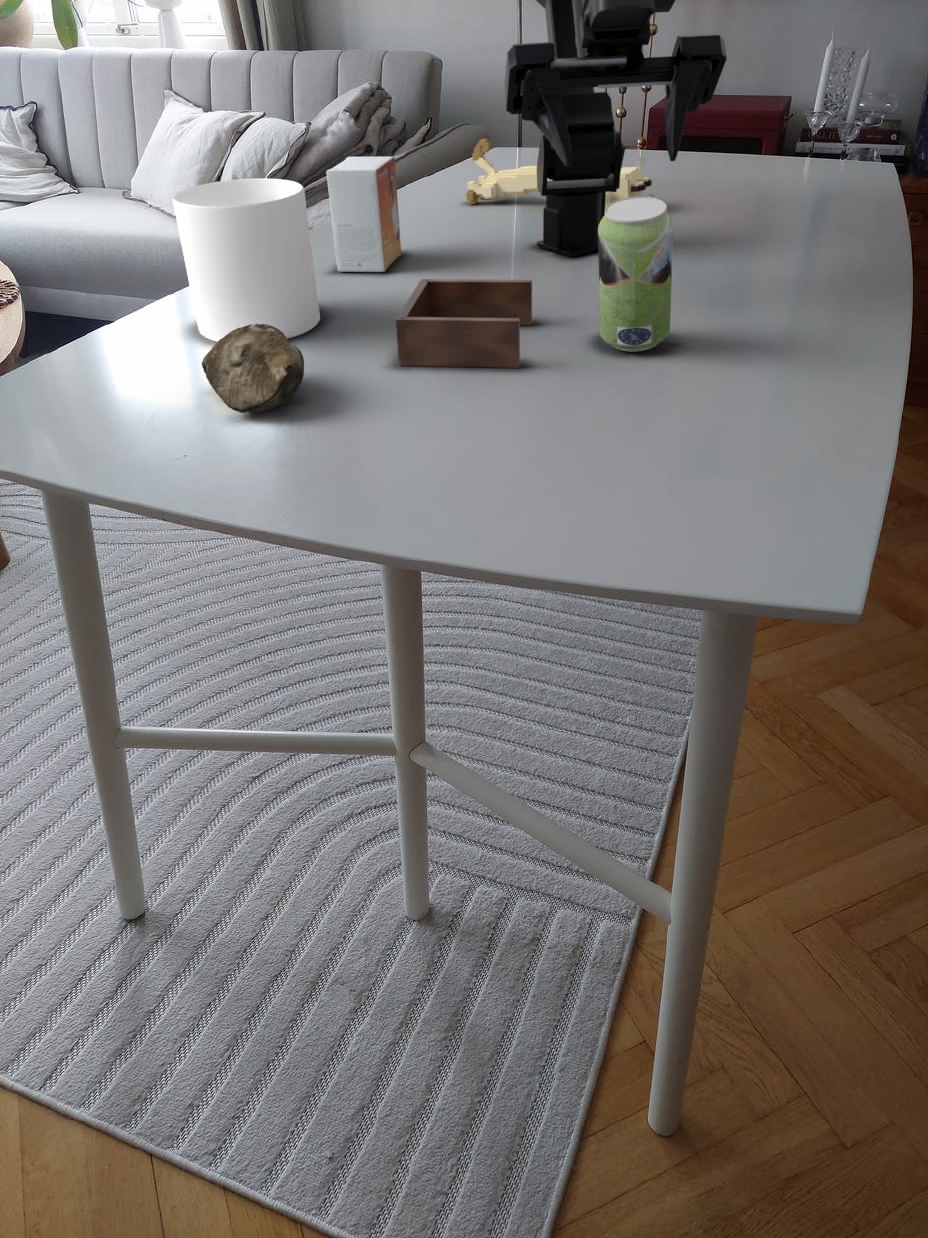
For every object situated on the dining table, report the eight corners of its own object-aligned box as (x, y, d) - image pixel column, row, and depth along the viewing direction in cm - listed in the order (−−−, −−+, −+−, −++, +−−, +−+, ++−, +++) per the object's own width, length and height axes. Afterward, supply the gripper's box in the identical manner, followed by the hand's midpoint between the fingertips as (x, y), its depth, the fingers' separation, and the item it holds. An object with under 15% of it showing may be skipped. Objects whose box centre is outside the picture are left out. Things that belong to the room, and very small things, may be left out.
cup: (217, 353, 87) (190, 213, 80) (185, 318, 96) (158, 189, 89) (338, 329, 91) (322, 194, 84) (297, 297, 100) (280, 172, 93)
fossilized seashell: (314, 388, 73) (319, 362, 82) (257, 313, 70) (269, 296, 79) (237, 445, 74) (250, 414, 83) (178, 374, 72) (198, 350, 81)
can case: (532, 322, 91) (532, 279, 88) (519, 367, 81) (518, 320, 79) (423, 321, 92) (421, 278, 90) (399, 365, 83) (395, 319, 81)
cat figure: (461, 217, 130) (640, 214, 120) (453, 146, 125) (639, 136, 115) (492, 201, 137) (663, 196, 127) (485, 133, 132) (663, 122, 122)
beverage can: (673, 334, 86) (686, 191, 79) (659, 363, 81) (671, 212, 74) (604, 329, 88) (611, 189, 81) (586, 357, 83) (591, 209, 76)
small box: (384, 273, 106) (376, 169, 100) (336, 272, 107) (324, 169, 101) (403, 253, 112) (396, 155, 106) (357, 252, 113) (347, 155, 107)
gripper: (505, -72, 78) (520, 101, 75) (734, -83, 78) (757, 89, 76) (499, 34, 89) (511, 188, 86) (699, 24, 89) (718, 177, 87)
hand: (621, 160), depth 83 cm, fingers open, 9 cm apart
